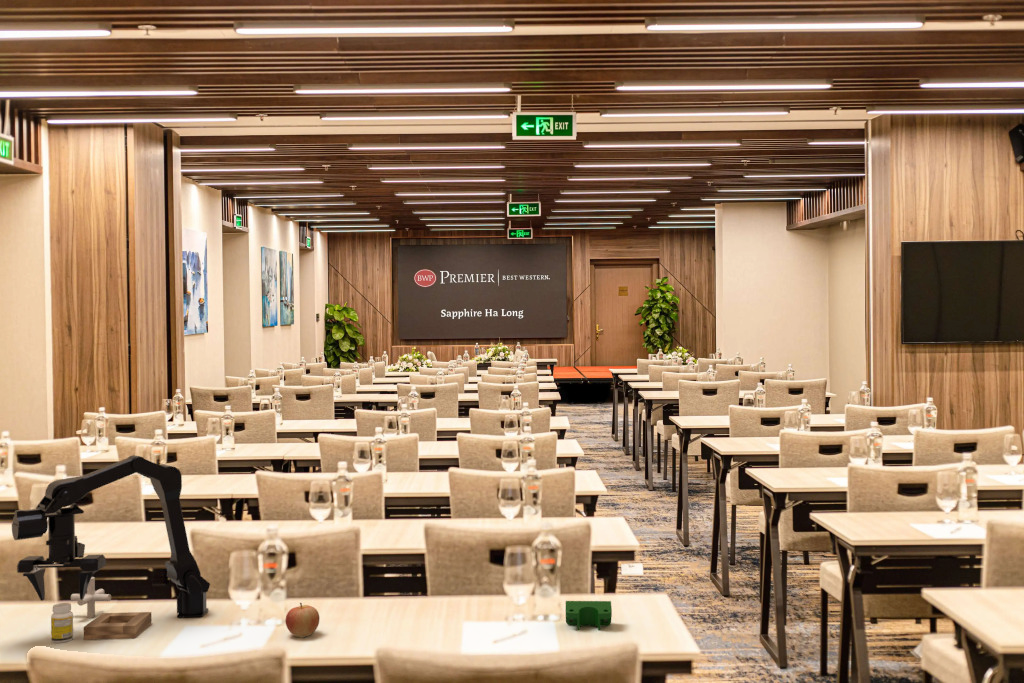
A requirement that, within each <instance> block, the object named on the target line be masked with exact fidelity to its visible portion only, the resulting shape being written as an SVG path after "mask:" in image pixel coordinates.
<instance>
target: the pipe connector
mask: <svg viewBox="0 0 1024 683" xmlns="http://www.w3.org/2000/svg"><path fill="white" fill-rule="evenodd" d="M95 578H96V577H94V576H92V577H91V580H90V582H89V585H88V587H87V590H86V593H85V596H84V599H82V600H81V599H80V594H79V593H72V594H71V595H70V600H71V602H73V601H76V603H77V605H79V606H84V605H86V606H87V607H86V608H87V609H86V614H87V615H86V616H87V618H89V619H91V618H96V602H110V601H111V600H112V595H111V594H109V593H108V594H107V593H105V589H103V588H99V589H97V590H96V589H95V588H96V587H95V586H96V585H95V584H96V583H95V582H96V579H95Z"/></svg>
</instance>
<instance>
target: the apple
mask: <svg viewBox="0 0 1024 683" xmlns="http://www.w3.org/2000/svg"><path fill="white" fill-rule="evenodd" d="M319 624H320V613H319V611H318V610H317V609H316V608H315V607H314V606H311V605H308V604H303V603H302V602H299V605H298V606H296V607H293V608H291V609H289V610H288V611H287V614H286V616H285V626H286V628H287V630H288V631H289V633H290V634H292V635H293V636H295V637H297V638H305V637H308V636H311V635H313V633H315V632H316V630H317V629H318V627H319Z"/></svg>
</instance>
